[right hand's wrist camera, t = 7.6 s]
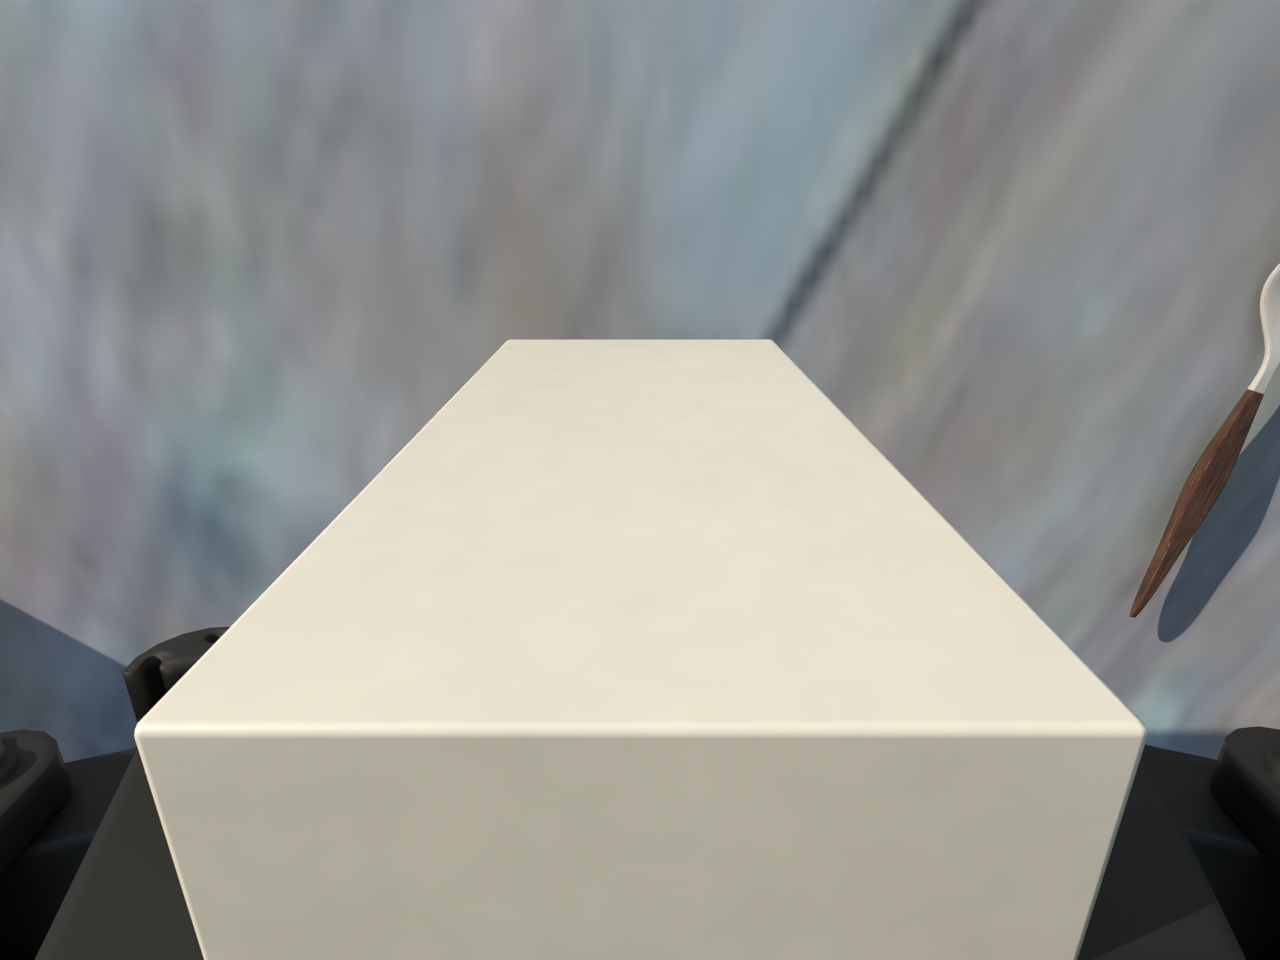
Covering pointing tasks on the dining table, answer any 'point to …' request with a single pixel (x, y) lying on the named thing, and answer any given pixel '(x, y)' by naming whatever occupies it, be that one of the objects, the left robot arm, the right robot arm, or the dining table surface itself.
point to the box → (640, 698)
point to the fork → (1216, 454)
